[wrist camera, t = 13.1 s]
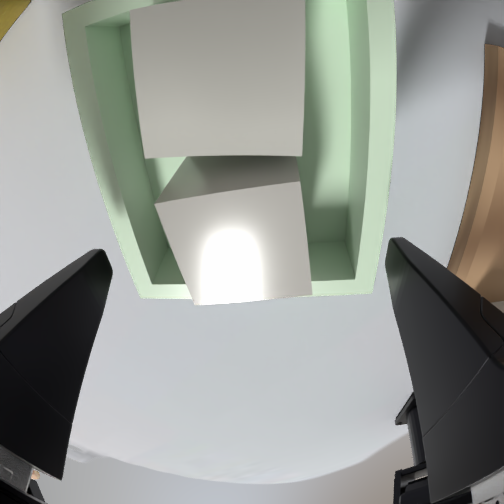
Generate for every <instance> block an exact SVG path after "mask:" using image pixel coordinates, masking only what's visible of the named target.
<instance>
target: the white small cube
mask: <svg viewBox="0 0 504 504" xmlns="http://www.w3.org/2000/svg"><path fill="white" fill-rule="evenodd" d="M154 205H155V207H156V210H157V213H158V215H159V218H160V221H161V223H162V226H163V229H164V231H165V234H166V236H167V239H168V241H169V244H170V246H171V249H172V251H173V254H174V256H175V259H176V261H177V264H178V266H179V269H180V271H181V274H182V276H183V278H184V281H185V283H186V286H187V288H188V290H189V293H190V295H191V297H192V300H193V302H194V304H195V305H207V304H221V303H234V302H246V301H257V300H268V299H279V298H289V297H299V296H308V295H312V283H311V273H310V262H309V252H308V243H307V233H306V224H305V216H304V207H303V199H302V191H301V184H300V177H299V171H298V166H297V160H296V156H270V155H220V156H187V157H186V158H185V159H184V161H183V162H182V164H181V165H180V167H179V168H178V169H177V171H176V172H175V174H174V175H173V177H172V178H171V180H170V181H169V182H168V184H167V185H166V187H165V188H164V190H163V191H162V193H161V194H160V196H159V197H158V199H157V200H156V202H155V203H154Z"/></svg>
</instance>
